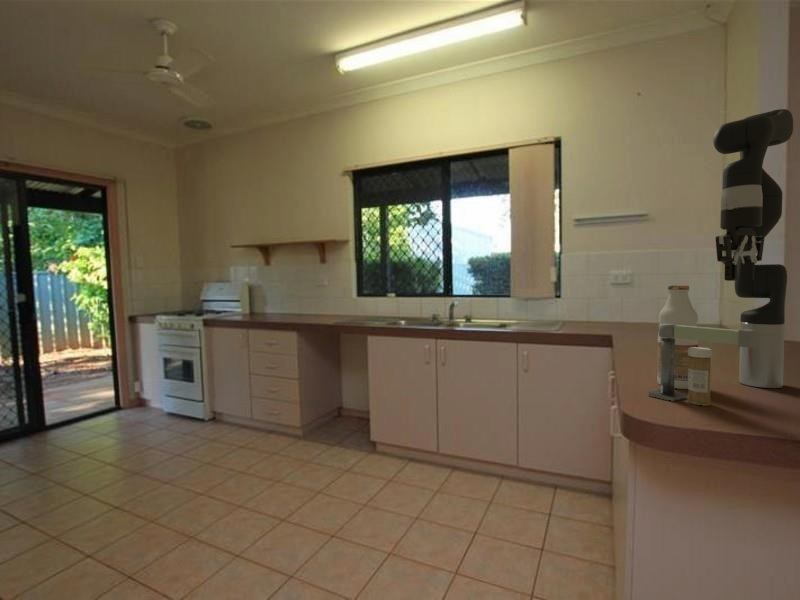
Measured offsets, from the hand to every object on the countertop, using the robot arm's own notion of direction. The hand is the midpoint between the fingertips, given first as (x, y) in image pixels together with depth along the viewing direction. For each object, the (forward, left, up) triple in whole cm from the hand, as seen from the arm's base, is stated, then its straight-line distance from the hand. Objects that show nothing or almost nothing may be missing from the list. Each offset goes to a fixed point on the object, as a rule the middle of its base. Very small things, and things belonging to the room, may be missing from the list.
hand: (739, 280), depth 98 cm
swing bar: (+7, -4, -14) cm, 17 cm away
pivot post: (+7, -12, -30) cm, 33 cm away
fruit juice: (-7, -17, -30) cm, 35 cm away
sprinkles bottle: (+6, -5, -30) cm, 31 cm away
